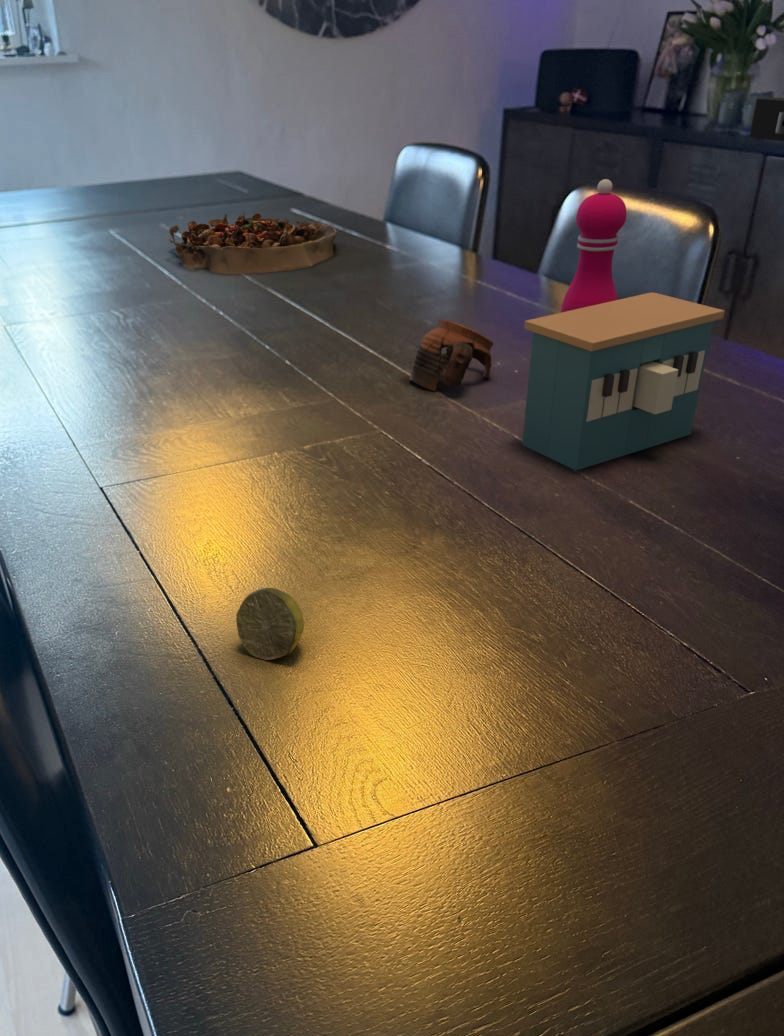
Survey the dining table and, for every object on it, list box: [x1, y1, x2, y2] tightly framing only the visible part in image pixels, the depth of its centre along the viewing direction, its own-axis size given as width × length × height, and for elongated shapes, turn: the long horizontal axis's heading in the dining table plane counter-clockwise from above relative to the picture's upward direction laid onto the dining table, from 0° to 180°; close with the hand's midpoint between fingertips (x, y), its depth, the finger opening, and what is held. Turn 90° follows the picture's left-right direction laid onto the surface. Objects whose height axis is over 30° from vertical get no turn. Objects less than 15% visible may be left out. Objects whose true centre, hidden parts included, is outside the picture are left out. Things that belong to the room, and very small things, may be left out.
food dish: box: [165, 212, 338, 275], centre depth 179 cm, size 35×33×8 cm
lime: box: [235, 587, 305, 661], centre depth 66 cm, size 4×5×5 cm
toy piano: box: [521, 291, 725, 471], centre depth 94 cm, size 9×17×13 cm, turn 120°
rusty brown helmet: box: [409, 319, 494, 392], centre depth 112 cm, size 12×10×8 cm
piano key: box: [633, 361, 678, 414], centre depth 90 cm, size 4×2×4 cm, turn 30°
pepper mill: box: [560, 178, 627, 313], centre depth 119 cm, size 7×7×20 cm
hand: (760, 117), depth 74 cm, fingers closed
